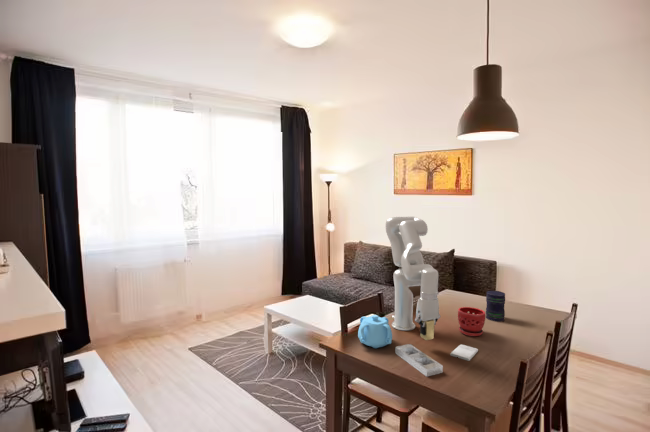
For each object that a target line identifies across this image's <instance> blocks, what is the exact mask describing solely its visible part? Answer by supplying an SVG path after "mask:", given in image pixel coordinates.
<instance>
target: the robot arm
mask: <svg viewBox="0 0 650 432" xmlns="http://www.w3.org/2000/svg"><path fill="white" fill-rule="evenodd" d="M428 231H429V230H428V225H427V222H426V221H425V220H424V219H421V218H419V217H417V216H393V217H390V218H388V219H387V220H386V222H385V233H386V235H387V238H388V240H389V243H390V247H391V248H390V249H391V255H392V261H393V264H394V266H396V267H401V268H398V269H396V270H394V272H393V276H392V277H393V284H394V315H392V316H391V318H392V319H394V320H393V321H392V322H391V327H392V328H393V329H396V330H398V331H412V330H414V329H415V328H416V323H417V324H418V325H419V326H420V327H419V333H421V334H423V335H425V334H426V327H425V323H426V321H427V320H432V319H433V320H434V326H436V324H437V322H438V320H439V319H440V318H441V314H440V304H439V303H440V302H439V298H438V295H439V293H440V292H439V291H438V290H439V289H438V288H439V271H438V270H437V269H435V268H434V267H433V266H432V264H428V263H425V262H424V257H423V254H422V252H421V251H420V250H421V249H422V247H423V243H422V240H421V238H420V237H424V236H426V235H427V234H428ZM410 287H420V291H419V292H420V297H418V300H417V303H416V310H415V318H414V322H415V323H414V322H413V315H414V314H413V313H414V311H413V310H414V294H413V292H412V290H411V289H410ZM422 321H423V323H422Z"/></svg>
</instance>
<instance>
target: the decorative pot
mask: <svg viewBox="0 0 650 432" xmlns="http://www.w3.org/2000/svg"><path fill="white" fill-rule="evenodd" d="M389 322H390V321H389V318H388V317H386V316H383V317H380V316H379V315H377V314H373V315H369V316H368V317H367V316H361V317H360V319H359V326H358V327H359V328H358V331H357V337H358V339H359V341H360V343H361V344H364V345H366V346H369V347H372V348H373V349H379V348H383V347H385V346H387V345H391V344H392V340H393V332H392V328H391V326H390V324H389Z"/></svg>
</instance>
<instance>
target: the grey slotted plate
mask: <svg viewBox="0 0 650 432" xmlns="http://www.w3.org/2000/svg"><path fill="white" fill-rule="evenodd" d="M394 351H395V352H394V353H395V354H396V355H397V356H398V357H400V359H402V360H403V361H405V362H406V363H408V364H409V365H410V366H411V367H412V368H414V369H416V370H417V371H419V373H421V374H422V375H424V376H425V377H431V376H435V375H440V374H443V372H444V371H443V369H444V366H443V364H441V363H439V361H436V360H435V359H433V358H432V357H431V356H429V355H427V354H426V353H424V352H423V351H422V350H420V349H418V348H417V347H415V346H414V345H412V344H411V343H409V344H408V343H407V344H403V345H398V346H395V350H394Z"/></svg>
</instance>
